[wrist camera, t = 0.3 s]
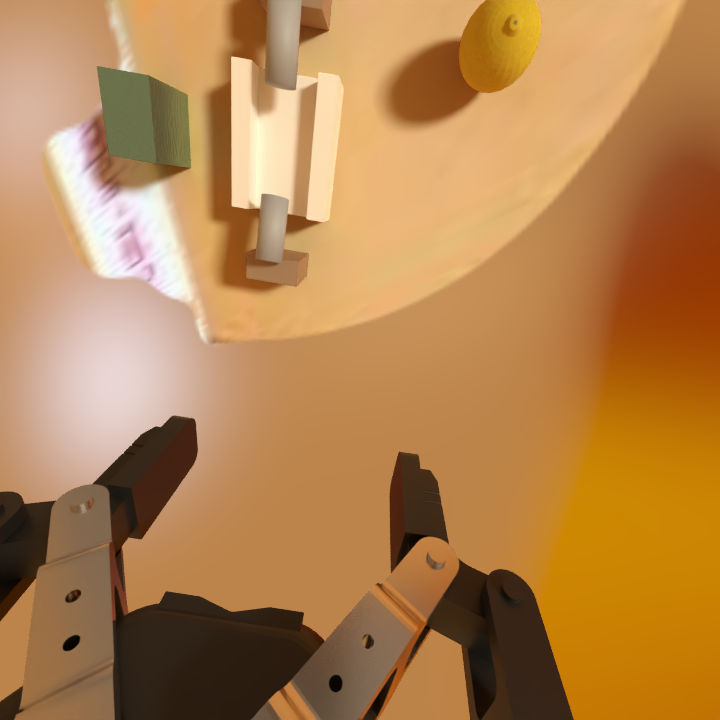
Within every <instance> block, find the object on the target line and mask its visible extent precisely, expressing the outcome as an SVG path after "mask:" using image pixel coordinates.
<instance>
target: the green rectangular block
mask: <svg viewBox="0 0 720 720" xmlns="http://www.w3.org/2000/svg"><path fill="white" fill-rule="evenodd" d="M97 71H98V78H99V85H100V93H101V100H102V108H103V115H104V122H105V130H106V137H107V144H108V152H109V155H111V156H117V157H123V158H128V159H134V160H140V161H145V162H151V163H157V164H165V165H172V166H180V167H188V168H191V158H190V137H189V116H188V95H187V94H185V93H183V92H181V91H179V90H177V89H175V88H173V87H171V86H169V85H167V84H165V83H163V82H161V81H159V80H157V79H155V78H153V77H151V76H149V75H144V74H138V73H133V72H127V71H122V70H116V69H110V68H105V67H99V66H98V67H97Z"/></svg>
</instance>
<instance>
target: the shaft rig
mask: <svg viewBox="0 0 720 720" xmlns="http://www.w3.org/2000/svg"><path fill="white" fill-rule="evenodd" d="M258 1H259V3H260V4H261V6H262V7H263V9H264V10H265V12H266V13H267V28H266V60H265V69H262V68H259V67H258V66H257V65H256V64H255V63H254V62H253V61H252V60H249V59H244V58H238V57H233V56H231V125H232V206H233V207H239V208H245V209H254V208H257V209H260V215H259V226H258V236H257V247H256V249H254V250H252V251H250V252H248V253H246V278H249V279H255V280H261V281H266V282H272V283H278V284H284V285H290V286H296V287H297V286H298V285H299V284H300V282H301V281H302V280H303V279H304V278H305V277H306V276H307V267H308V256H309V254H307V253H301V252H296V251H290V250H284V242H285V233H286V224H287V215H288V214H291V215H297V216H303V217H306V219H308V220H314V221H319V222H325V221H327V220H329V218H330V209H331V200H332V191H333V182H334V173H335V164H336V155H337V146H338V137H339V128H340V119H341V110H342V101H343V92H344V88H343V86H342V83H341V80H340V78H339V76H338V75H333V74H327V73H322V72H319V75H318V78H312V77H307V76H301V75H297V67H298V51H299V35H300V25H301V26H307V27H312V28H318V29H323V30H329V25H330V14H331V3H332V0H258Z"/></svg>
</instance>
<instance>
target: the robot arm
mask: <svg viewBox="0 0 720 720" xmlns="http://www.w3.org/2000/svg"><path fill="white" fill-rule="evenodd" d="M197 452H198V447H197V433H196V422H195V420H194V419H193V418H187V417H180V416H172V417H171V418H169V420H168V421H167V422H166V423H165V424H164V425H163V426H162V427H154V428H152V429H150V430H148V431H147V432H145V433H143V434H142V435H141V436H140V437H139V438H138V439H137V440H136V441H135V442H134V443H133V444H132V446H130V447H129V448H128V449H127V450H126V451H125V452H124V454H122V455H121V456H120V457H119V458H118V459H117V460H116V461H115V462H114V463H113V464H112V465H111V466H110V467H109V468H108V469H107V470H106V471H105V472H104V473H103V474H102V475H101V476H100V477H99V478H98V479H97V480H96V481H95V482H94V483H93V484H90V485H84V486H80V487H77V488H74V489H72V490H70V491H68V492H67V493H65V494H63V495H62V496H61V497H60V498H59V499H58V500H57V501H49V502H39V503H31V504H24V501H23V499H22V497H21V495H19V494H18V493H15V492H0V621H1V620H2V618H3V617H4V616H5V615H6V614H7V613H8V611H9V610H10V609H11V608H12V606H13V605H14V604H15V603H16V602H17V600H18V599H19V598H20V597H21V596H22V594H23V593H24V592H25V591H26V590H27V588H28V587H29V586H30V585H31V583H32V582H33V581H34V580H35V579H36V585H35V593H34V602H33V610H32V618H31V626H30V634H29V643H28V651H27V658H26V666H25V674H24V683H23V686H22V687H20V688H19V689H17V690H16V691H15V692H13V693H12V694H10V695H9V696H8V697H6V698H5V699H3V700H2V701H1V702H0V720H378V719H379V717H380V716H381V714H382V712H383V711H384V709H385V707H386V706H387V704H388V702H389V701H390V699H391V697H392V696H393V694H394V692H395V690H396V688H397V686H398V684H399V682H400V681H401V679H402V677H403V675H404V673H405V672H406V670H407V669H408V667H409V665H410V664H411V662H412V661H413V659H414V658H415V656H416V654H417V653H418V651H419V649H420V648H421V646H422V645H423V643H424V641H425V640H426V638H427V637H428V635H429V633H430V632H431V630H432V629H433V630H435V631H437V632H439V633H440V634H442V635H444V636H446V637H448V638H450V639H451V640H454V641H455V642H457V643H459V644H461V645H462V653H463V661H464V671H465V679H466V688H467V696H468V704H469V713H470V720H574V719H573V716H572V713H571V710H570V706H569V704H568V700H567V697H566V694H565V691H564V688H563V684H562V681H561V678H560V675H559V672H558V669H557V665H556V662H555V659H554V656H553V652H552V649H551V646H550V643H549V640H548V637H547V633H546V630H545V627H544V624H543V621H542V618H541V614H540V612H539V608H538V605H537V602H536V599H535V596H534V593H533V592H532V590H531V588H530V587H529V586H528V584H527V583H526V582H525V581H524V580H523V579H522V578H520V577H519V576H518V575H516V574H514V573H513V572H510V571H508V570H502V569H498V570H494V571H492V572H491V573H490V574H489V575H486V574H484V573H482V572H480V571H478V570H476V569H474V568H472V567H470V566H468V565H466V564H465V563H463V562H462V561H461V560H460V559H459V558H458V556H457V554H456V552H455V551H454V549H453V548H452V547H451V546H450V545H449V542H448V538H447V532H446V526H445V521H444V515H443V509H442V505H441V498H440V495H439V487H438V482H437V480H436V478H435V477H434V475H433V474H432V472H431V471H430V470H425V469H420V462H419V456H418V455H417V454H411V453H404V452H399V453H398V456H397V461H396V464H395V468H394V473H393V476H392V480H391V487H390V545H391V574H390V575H389V576H388V578H387V579H386V580H385V581H384V582H383V583H382V584H379V583H377V584H375V585H374V586H373V587H372V588H371V589H370V590H369V591H368V593H366V594H365V596H364V597H363V598H362V599H361V600H360V601H359V603H358V604H357V605H356V606H355V607H354V608H353V609H352V611H351V612H350V613H349V614H348V615H347V616H346V618H345V619H344V620H343V621H342V622H341V623H340V624H339V626H338V627H337V628H336V629H335V630H334V631H333V633H332V634H331V635H330V636H329V637H328V638H327V639H326V641H324V640H323V639H322V637H320V636H319V635H318V634H317V633H316V632H315V631H313V630H312V629H311V628H309V627H307V626H305V625H303V624H302V623H303V616H304V613H303V612H296V611H290V610H284V609H277V608H271V607H269V608H261V609H253V610H246V611H238V612H231V611H228V610H226V609H224V608H222V607H220V606H218V605H216V604H214V603H212V602H210V601H208V600H206V599H204V598H202V597H199V596H193V595H187V594H180V593H174V592H167V591H166V592H165V594H164V596H163V598H162V600H161V601H160V603H159V604H153V605H149V606H145V607H143V608H140V609H137V610H134V611H132V612H130V613H128V606H127V600H126V599H127V598H126V586H125V573H124V561H123V550H122V545H123V544H124V543H125V541H126V540H127V539H128V537H129V538H135V539H142V538H143V536H144V535H145V534H146V532H147V531H148V529H149V528H150V526H151V525H152V523H153V522H154V521H155V519H156V518H157V516H158V515H159V514H160V512H161V511H162V509H163V508H164V506H165V505H166V503H167V502H168V501H169V499H170V498H171V496H172V495H173V493H174V492H175V491H176V489H177V488H178V486H179V485H180V483H181V482H182V480H183V479H184V478H185V476H186V475H187V473H188V472H189V470H190V469H191V467H192V466H193V464H194V462H195V460H196V457H197Z"/></svg>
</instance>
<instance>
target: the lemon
mask: <svg viewBox="0 0 720 720" xmlns="http://www.w3.org/2000/svg"><path fill="white" fill-rule="evenodd" d="M540 35H541V18H540V12H539V9H538V7H537V4H536V2H535V1H534V0H486V1H485V2H484V3H482V4H481V5H480V6H479V7H478V8H477V10H476V11H475V12H474V14H473V15H472V16H471V18H470V19H469V21H468V23H467V25H466V27H465V29H464V32H463V35H462V38H461V42H460V47H459V65H460V70H461V73H462V75H463V78H464V79H465V81H466V82H467V84H468V85H469V86H471V87H472V88H473V89H474V90H477V91H480V92H482V93H492V92H496V91H500V90H502V89H504V88H506V87H508V86H510V85H511V84H513V83H514V82H515V81H516V80H517V79H518V78H519V77H520V76H521V75H522V74H523V72H524V71H525V70H526V68H527V67H528V66H529V64H530V63H531V61H532V58H533V56H534V54H535V52H536V50H537V47H538V43H539V39H540Z"/></svg>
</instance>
